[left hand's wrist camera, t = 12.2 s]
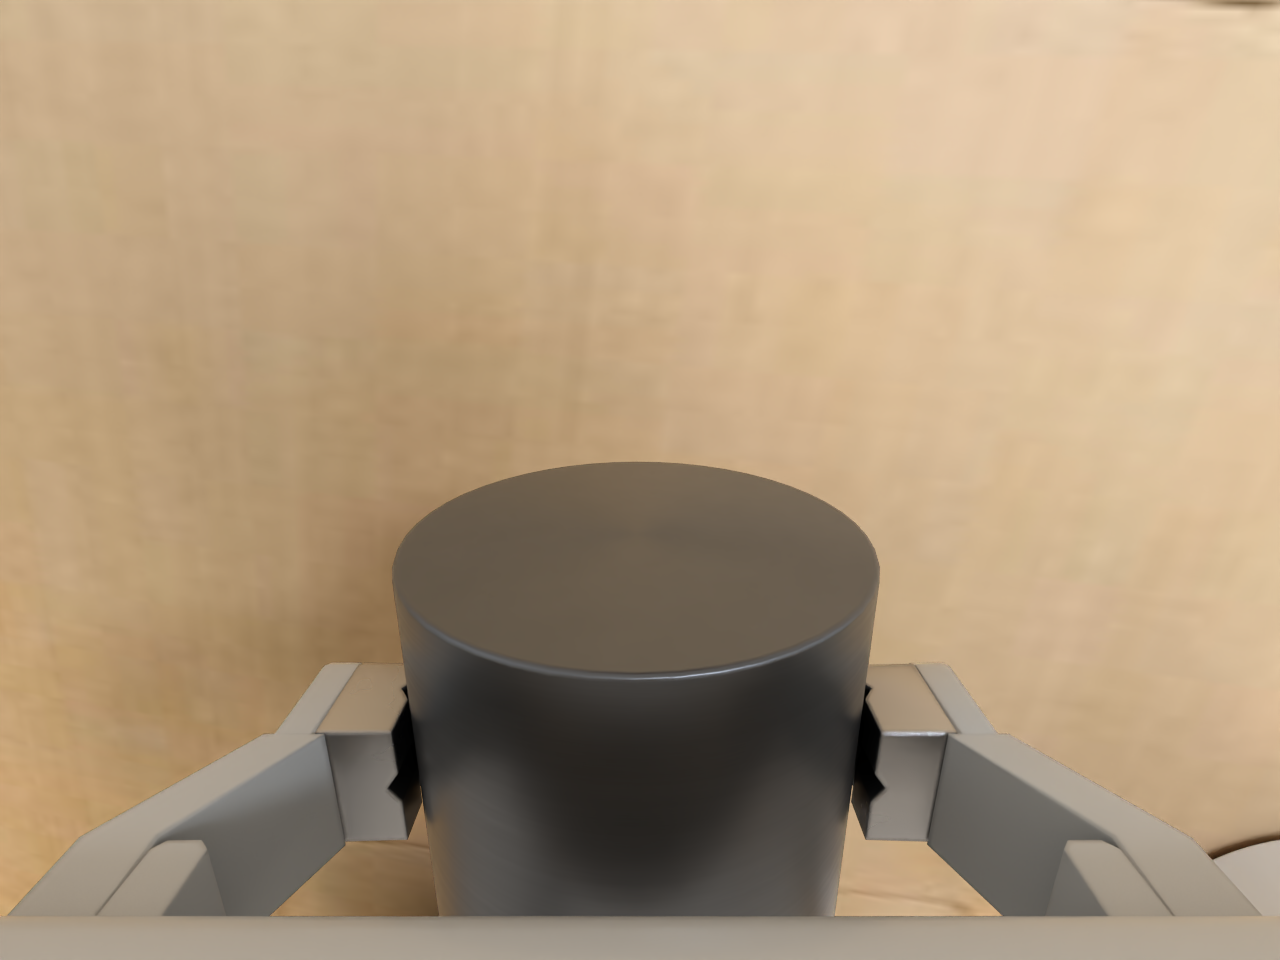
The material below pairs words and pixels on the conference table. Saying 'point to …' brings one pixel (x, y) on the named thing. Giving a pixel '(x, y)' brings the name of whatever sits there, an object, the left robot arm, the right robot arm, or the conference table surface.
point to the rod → (636, 691)
